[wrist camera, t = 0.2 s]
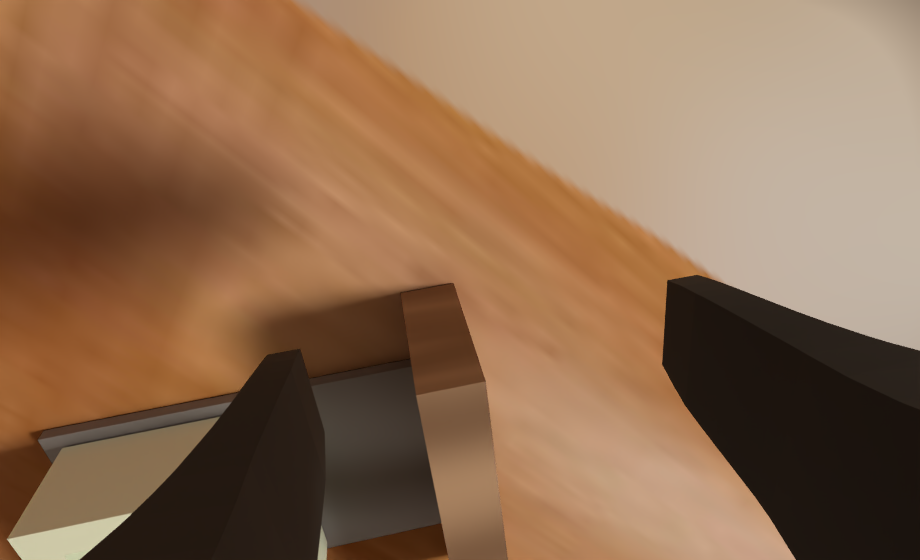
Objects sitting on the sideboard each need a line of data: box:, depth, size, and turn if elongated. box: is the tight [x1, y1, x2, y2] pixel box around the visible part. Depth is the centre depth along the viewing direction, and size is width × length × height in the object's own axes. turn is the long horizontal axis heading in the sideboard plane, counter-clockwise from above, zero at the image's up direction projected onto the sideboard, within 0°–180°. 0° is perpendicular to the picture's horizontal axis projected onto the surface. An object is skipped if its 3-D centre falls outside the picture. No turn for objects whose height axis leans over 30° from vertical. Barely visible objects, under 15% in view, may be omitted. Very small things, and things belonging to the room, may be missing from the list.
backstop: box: [38, 283, 508, 560], centre depth 22 cm, size 15×16×6 cm
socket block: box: [7, 417, 327, 560], centre depth 22 cm, size 8×8×4 cm
